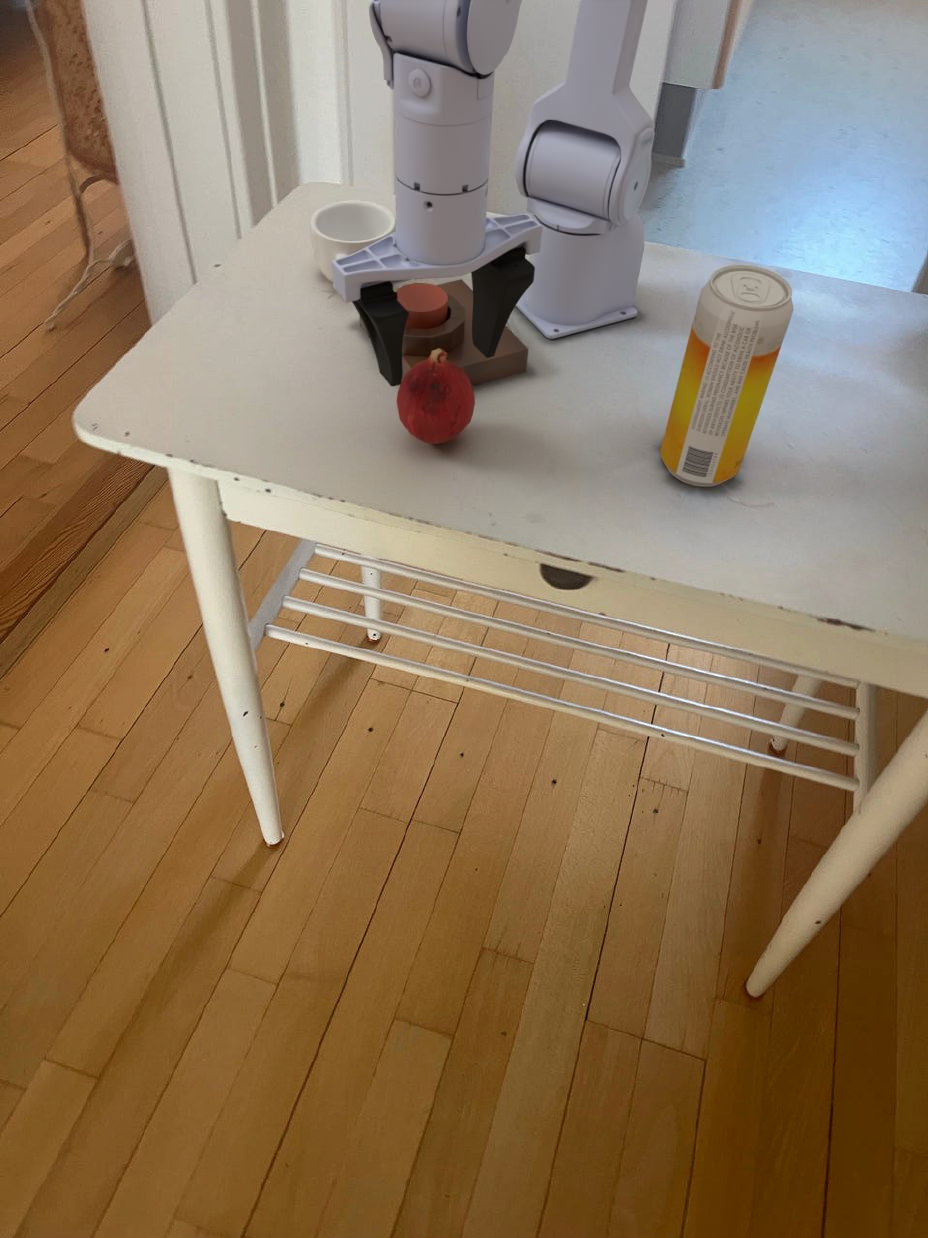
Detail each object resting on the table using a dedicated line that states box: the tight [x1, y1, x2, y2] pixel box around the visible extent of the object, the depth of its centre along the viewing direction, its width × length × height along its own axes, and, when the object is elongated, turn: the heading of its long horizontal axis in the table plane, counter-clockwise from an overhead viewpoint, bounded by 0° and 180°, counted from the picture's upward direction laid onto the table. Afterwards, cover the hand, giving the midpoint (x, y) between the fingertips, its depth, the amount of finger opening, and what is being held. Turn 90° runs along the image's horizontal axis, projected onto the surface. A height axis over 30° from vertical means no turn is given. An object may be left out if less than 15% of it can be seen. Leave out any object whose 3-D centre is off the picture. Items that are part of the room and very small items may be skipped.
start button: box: [395, 282, 448, 329], centre depth 78 cm, size 4×4×2 cm
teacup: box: [309, 199, 396, 283], centre depth 86 cm, size 10×8×5 cm
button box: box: [358, 278, 529, 387], centre depth 80 cm, size 11×12×4 cm
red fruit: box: [396, 348, 476, 445], centre depth 70 cm, size 6×6×8 cm
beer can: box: [660, 264, 794, 488], centre depth 67 cm, size 6×6×15 cm
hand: (437, 363), depth 68 cm, fingers open, 7 cm apart
